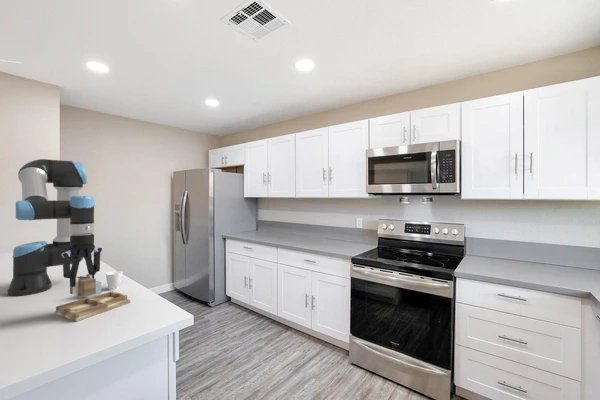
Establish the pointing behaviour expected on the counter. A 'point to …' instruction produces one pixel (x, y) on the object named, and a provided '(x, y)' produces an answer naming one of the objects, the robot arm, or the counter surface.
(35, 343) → the counter surface
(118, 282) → the cup
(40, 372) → the counter surface
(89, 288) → the brown wooden block
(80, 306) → the tray
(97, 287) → the pale teal block
